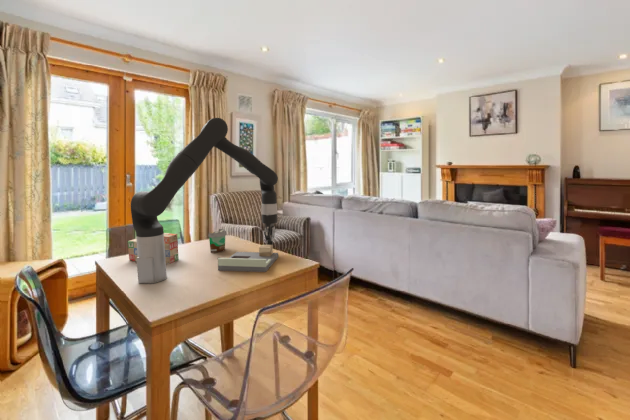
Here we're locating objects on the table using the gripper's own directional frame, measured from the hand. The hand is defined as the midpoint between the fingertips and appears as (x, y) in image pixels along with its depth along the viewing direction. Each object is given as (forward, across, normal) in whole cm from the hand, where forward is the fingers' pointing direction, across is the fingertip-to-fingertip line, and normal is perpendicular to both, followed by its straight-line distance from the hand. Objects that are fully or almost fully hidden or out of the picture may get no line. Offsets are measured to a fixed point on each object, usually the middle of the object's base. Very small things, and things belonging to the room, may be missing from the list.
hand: (270, 248), depth 159 cm
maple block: (+1, +8, 0) cm, 9 cm away
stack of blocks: (+3, +15, -50) cm, 53 cm away
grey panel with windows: (+3, +16, -5) cm, 17 cm away
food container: (+3, -4, -27) cm, 27 cm away
